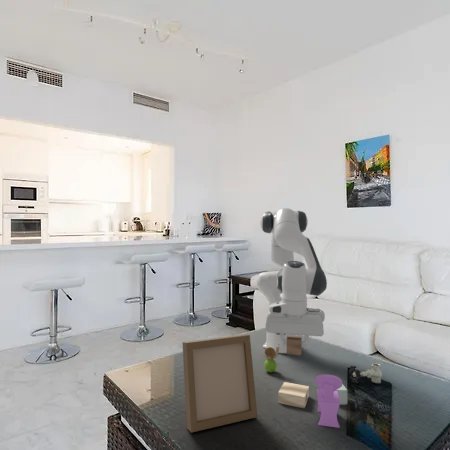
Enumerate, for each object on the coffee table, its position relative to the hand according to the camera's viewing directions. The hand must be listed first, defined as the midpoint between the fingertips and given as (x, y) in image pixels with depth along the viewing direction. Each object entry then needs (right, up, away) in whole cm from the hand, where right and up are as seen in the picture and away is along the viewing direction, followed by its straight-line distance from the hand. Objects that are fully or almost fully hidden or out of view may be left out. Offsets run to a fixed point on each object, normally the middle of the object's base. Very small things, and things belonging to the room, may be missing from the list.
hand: (294, 346), depth 122 cm
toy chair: (+8, -19, -13) cm, 24 cm away
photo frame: (-27, -18, -11) cm, 35 cm away
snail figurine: (-5, -19, +23) cm, 31 cm away
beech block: (0, -19, 0) cm, 19 cm away
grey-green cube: (+15, -19, -1) cm, 24 cm away
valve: (+32, -20, +15) cm, 40 cm away
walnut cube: (0, -2, 0) cm, 2 cm away
